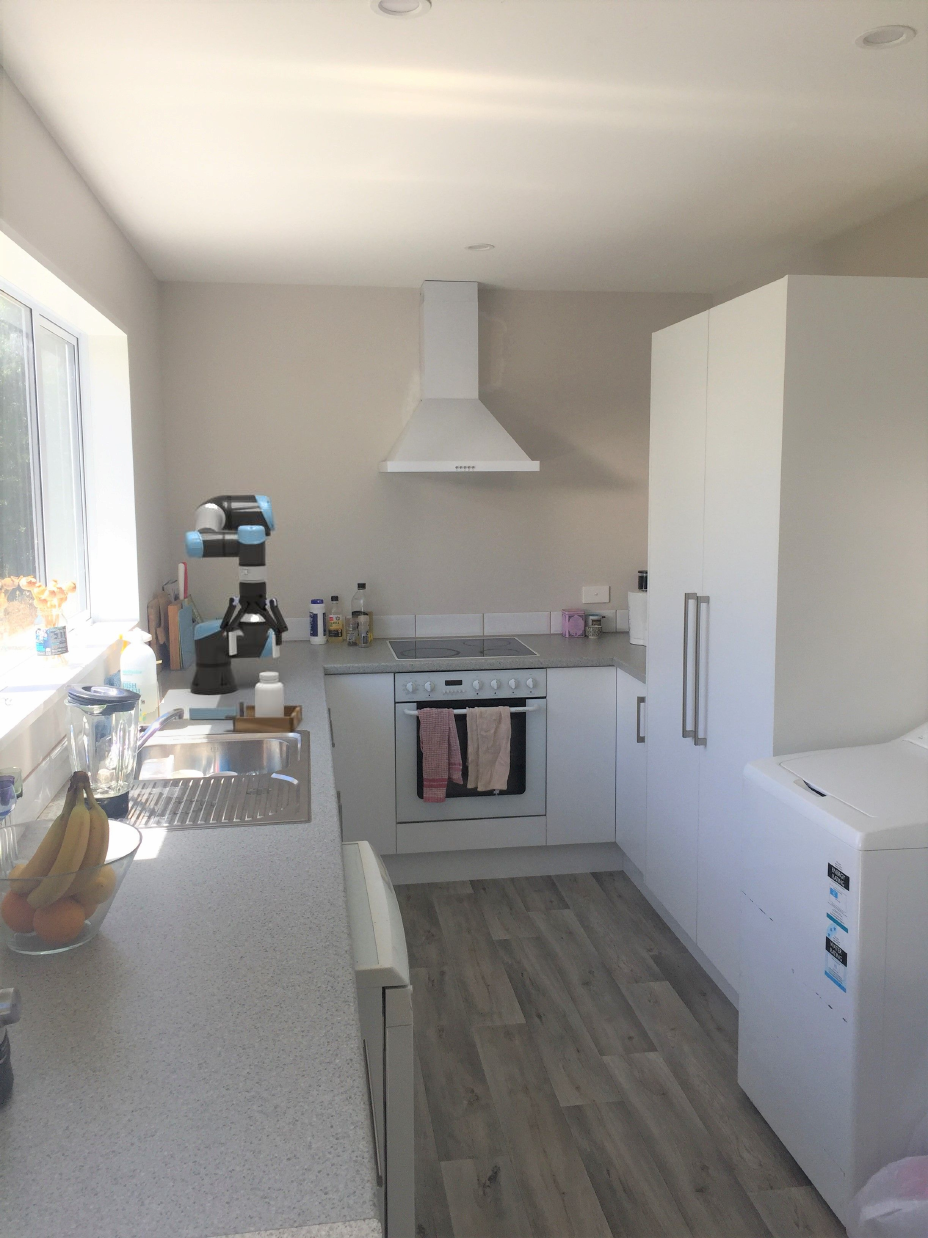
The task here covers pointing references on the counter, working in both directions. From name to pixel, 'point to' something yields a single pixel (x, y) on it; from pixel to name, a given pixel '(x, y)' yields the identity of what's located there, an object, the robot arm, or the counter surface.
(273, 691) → the pill bottle
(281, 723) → the tray
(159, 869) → the counter surface
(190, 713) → the gate
